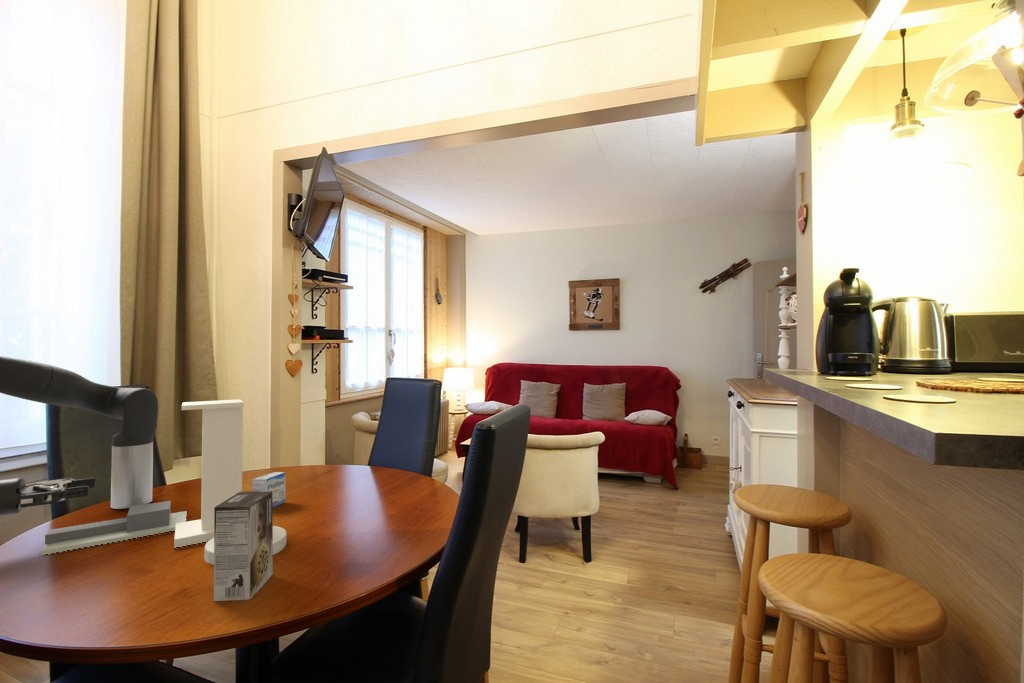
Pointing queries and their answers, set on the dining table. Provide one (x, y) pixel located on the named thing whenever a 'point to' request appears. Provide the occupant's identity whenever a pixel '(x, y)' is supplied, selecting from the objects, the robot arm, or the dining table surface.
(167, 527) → the mat
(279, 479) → the medicine box
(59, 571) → the dining table surface
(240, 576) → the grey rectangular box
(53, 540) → the gray flanged block
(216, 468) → the white flanged bar
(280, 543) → the roll of tape
